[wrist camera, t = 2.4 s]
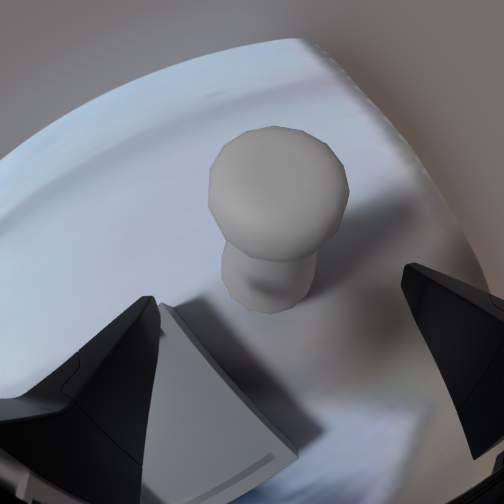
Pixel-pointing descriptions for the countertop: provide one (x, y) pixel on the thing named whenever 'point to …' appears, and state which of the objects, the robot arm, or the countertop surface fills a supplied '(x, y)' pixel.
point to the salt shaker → (275, 213)
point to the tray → (203, 428)
